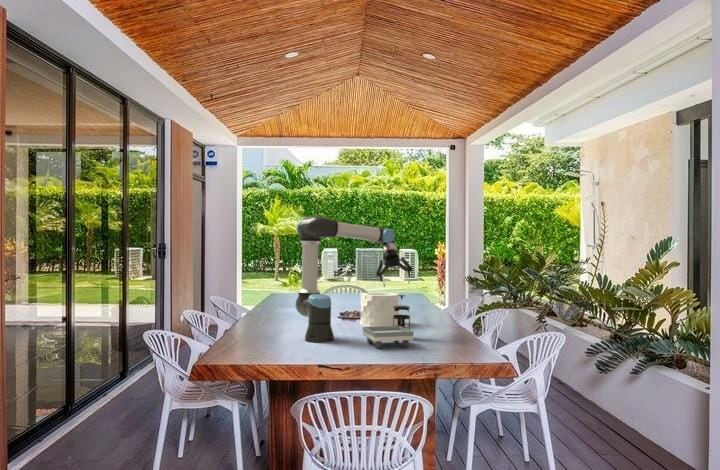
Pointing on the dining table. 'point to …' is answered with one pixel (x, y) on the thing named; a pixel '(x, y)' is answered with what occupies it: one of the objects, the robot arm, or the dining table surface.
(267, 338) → the dining table surface
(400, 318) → the french press
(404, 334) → the grey tray with legs
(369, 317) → the basket
